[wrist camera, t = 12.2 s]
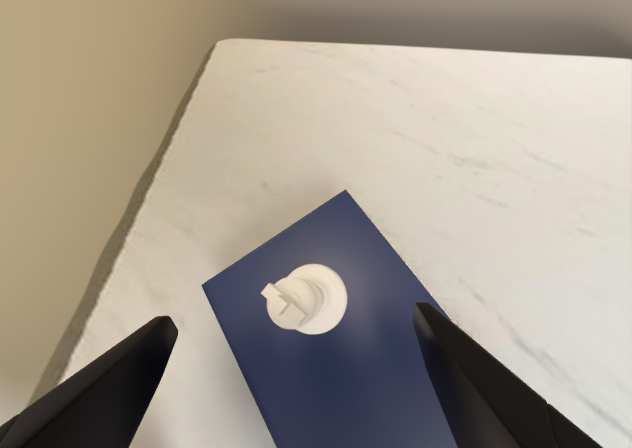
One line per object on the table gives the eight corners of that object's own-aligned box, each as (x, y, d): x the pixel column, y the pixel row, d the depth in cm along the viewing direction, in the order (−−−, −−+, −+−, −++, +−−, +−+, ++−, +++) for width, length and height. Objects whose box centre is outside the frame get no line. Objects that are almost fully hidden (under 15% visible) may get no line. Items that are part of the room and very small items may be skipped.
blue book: (500, 401, 16) (535, 425, 13) (341, 531, 15) (341, 587, 12) (344, 202, 22) (345, 189, 19) (220, 286, 21) (201, 285, 18)
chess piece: (319, 350, 16) (286, 441, 6) (267, 303, 17) (172, 317, 7) (360, 291, 16) (389, 291, 7) (308, 251, 18) (271, 203, 8)
